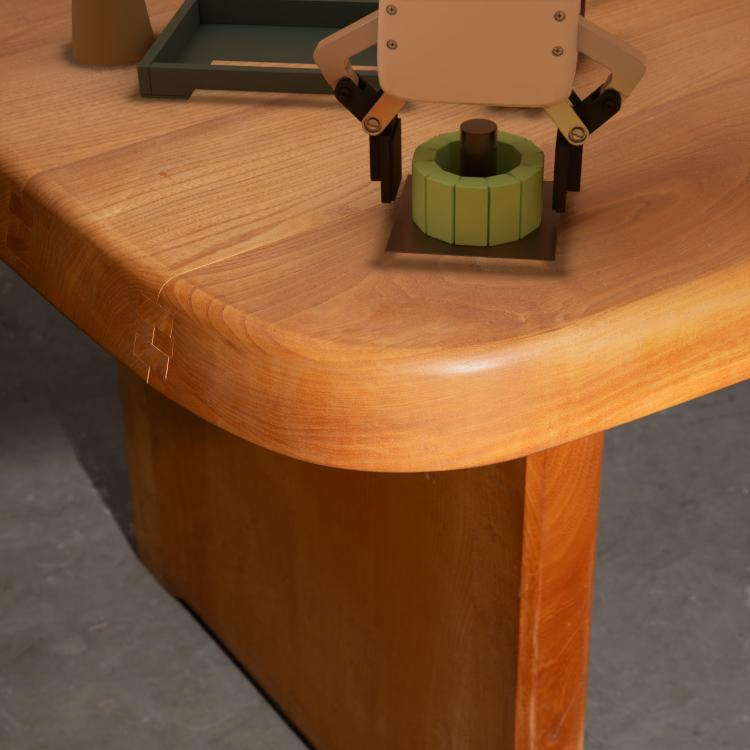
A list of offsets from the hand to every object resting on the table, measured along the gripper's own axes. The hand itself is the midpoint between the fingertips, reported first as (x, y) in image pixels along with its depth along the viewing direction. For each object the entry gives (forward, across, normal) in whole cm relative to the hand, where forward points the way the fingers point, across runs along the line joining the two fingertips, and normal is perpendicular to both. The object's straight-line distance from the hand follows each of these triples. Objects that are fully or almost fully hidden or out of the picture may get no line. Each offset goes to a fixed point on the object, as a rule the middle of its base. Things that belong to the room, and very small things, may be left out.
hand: (475, 196), depth 79 cm
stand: (+2, 0, 0) cm, 2 cm away
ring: (+1, 0, 0) cm, 1 cm away
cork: (+3, +28, -23) cm, 36 cm away
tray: (+2, +15, -22) cm, 27 cm away
